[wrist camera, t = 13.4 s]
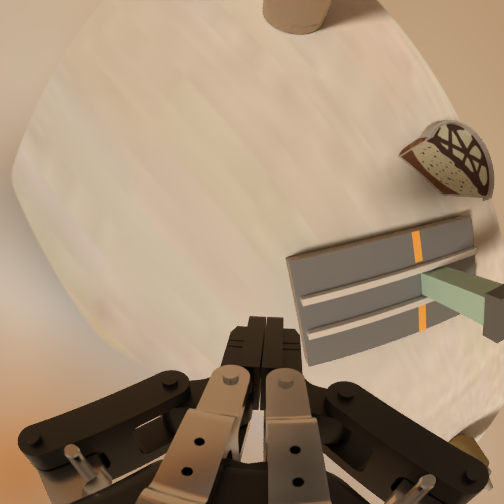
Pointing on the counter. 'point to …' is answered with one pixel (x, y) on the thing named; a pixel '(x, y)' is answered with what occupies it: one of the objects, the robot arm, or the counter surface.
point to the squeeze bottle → (471, 451)
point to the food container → (452, 160)
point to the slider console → (375, 288)
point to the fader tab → (468, 297)
